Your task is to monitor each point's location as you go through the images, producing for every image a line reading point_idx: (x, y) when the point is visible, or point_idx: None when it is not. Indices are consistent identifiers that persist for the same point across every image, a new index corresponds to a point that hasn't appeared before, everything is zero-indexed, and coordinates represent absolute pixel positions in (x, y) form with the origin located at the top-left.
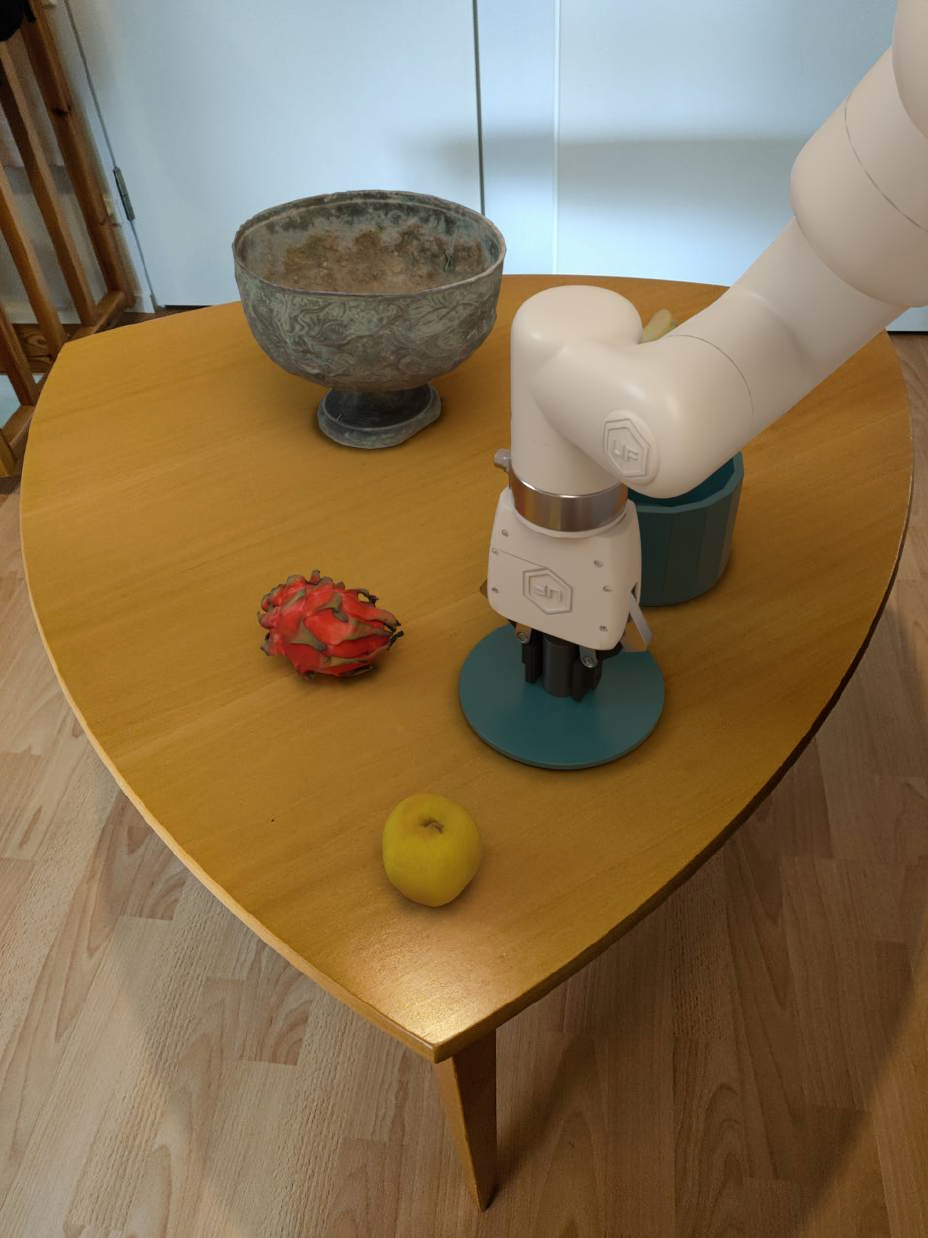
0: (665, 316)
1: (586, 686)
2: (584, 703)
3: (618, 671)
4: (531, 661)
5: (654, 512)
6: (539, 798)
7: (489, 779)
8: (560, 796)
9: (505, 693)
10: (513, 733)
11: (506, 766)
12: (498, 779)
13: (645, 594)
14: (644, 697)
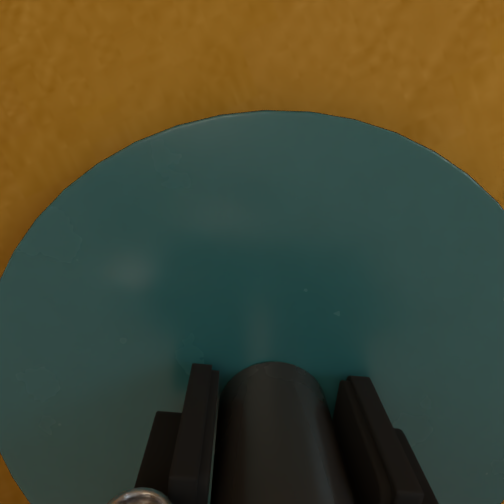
0: None
1: (178, 415)
2: (185, 368)
3: None
4: (375, 440)
5: None
6: (188, 21)
7: (352, 30)
8: (135, 55)
9: (409, 321)
10: (338, 191)
11: (321, 98)
12: (327, 41)
13: None
14: (47, 440)
